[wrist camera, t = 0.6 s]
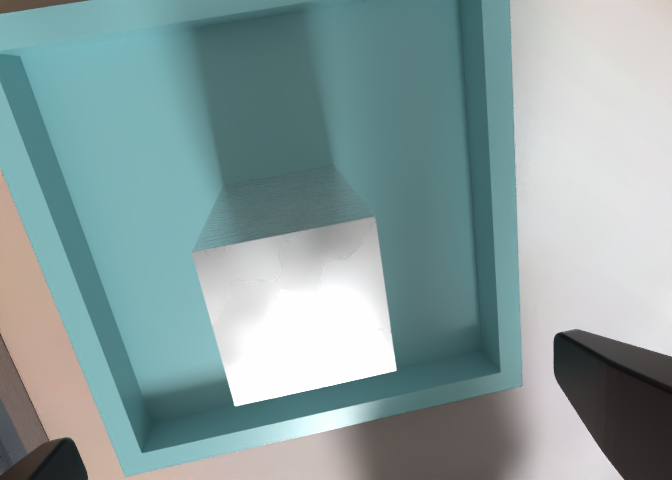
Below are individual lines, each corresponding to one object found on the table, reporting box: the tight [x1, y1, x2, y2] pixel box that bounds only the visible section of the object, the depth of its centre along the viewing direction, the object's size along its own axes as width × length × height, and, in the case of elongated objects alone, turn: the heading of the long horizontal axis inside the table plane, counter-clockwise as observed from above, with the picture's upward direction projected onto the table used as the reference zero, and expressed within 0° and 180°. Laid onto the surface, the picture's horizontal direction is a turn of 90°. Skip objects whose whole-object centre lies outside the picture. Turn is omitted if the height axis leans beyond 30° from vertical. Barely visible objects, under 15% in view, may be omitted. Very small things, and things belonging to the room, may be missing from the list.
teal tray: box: [0, 0, 522, 477], centre depth 19 cm, size 18×18×2 cm
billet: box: [191, 165, 397, 406], centre depth 16 cm, size 4×4×8 cm
